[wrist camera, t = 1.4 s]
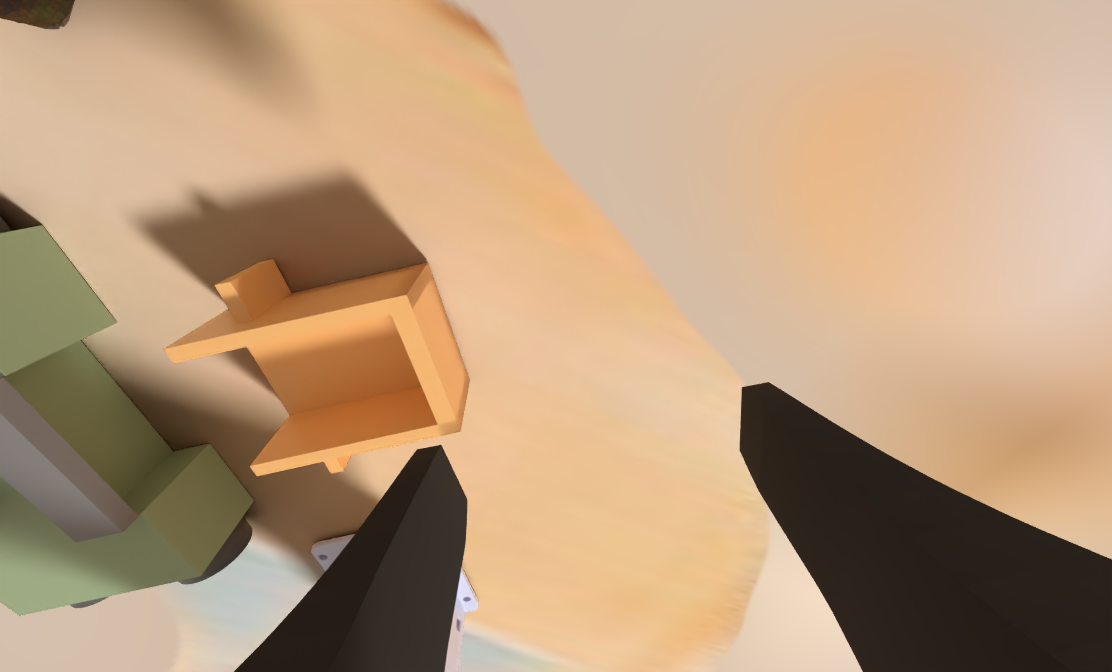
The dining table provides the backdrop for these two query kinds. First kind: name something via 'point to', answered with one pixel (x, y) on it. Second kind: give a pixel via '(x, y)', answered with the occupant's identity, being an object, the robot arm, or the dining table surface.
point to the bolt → (37, 12)
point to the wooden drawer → (342, 361)
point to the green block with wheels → (91, 456)
